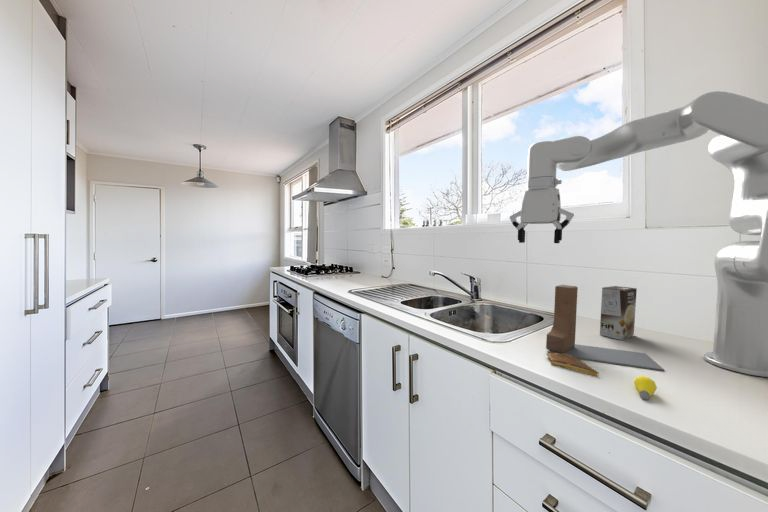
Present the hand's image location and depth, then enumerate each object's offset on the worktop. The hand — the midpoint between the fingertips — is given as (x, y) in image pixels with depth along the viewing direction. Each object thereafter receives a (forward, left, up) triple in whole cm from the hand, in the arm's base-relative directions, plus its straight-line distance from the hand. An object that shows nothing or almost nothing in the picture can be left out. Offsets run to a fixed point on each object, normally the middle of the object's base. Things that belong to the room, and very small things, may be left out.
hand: (538, 242), depth 86 cm
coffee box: (-25, -19, -31) cm, 45 cm away
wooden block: (-6, +3, -31) cm, 31 cm away
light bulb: (-19, +23, -31) cm, 43 cm away
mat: (-15, +3, -31) cm, 35 cm away
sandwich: (-8, +12, -32) cm, 35 cm away
